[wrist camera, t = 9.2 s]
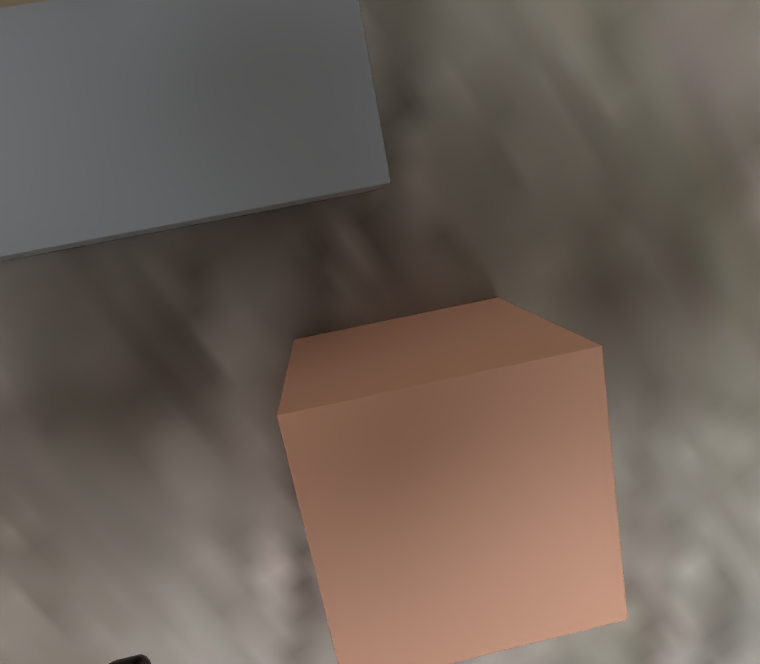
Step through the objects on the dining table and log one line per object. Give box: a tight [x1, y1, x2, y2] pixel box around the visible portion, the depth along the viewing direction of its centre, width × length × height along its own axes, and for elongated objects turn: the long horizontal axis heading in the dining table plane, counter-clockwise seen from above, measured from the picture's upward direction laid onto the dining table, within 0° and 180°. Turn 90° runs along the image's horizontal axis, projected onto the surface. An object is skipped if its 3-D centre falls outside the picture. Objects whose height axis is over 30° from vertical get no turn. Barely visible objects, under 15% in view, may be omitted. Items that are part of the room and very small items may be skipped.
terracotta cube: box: [277, 298, 627, 664], centre depth 11 cm, size 5×5×5 cm
